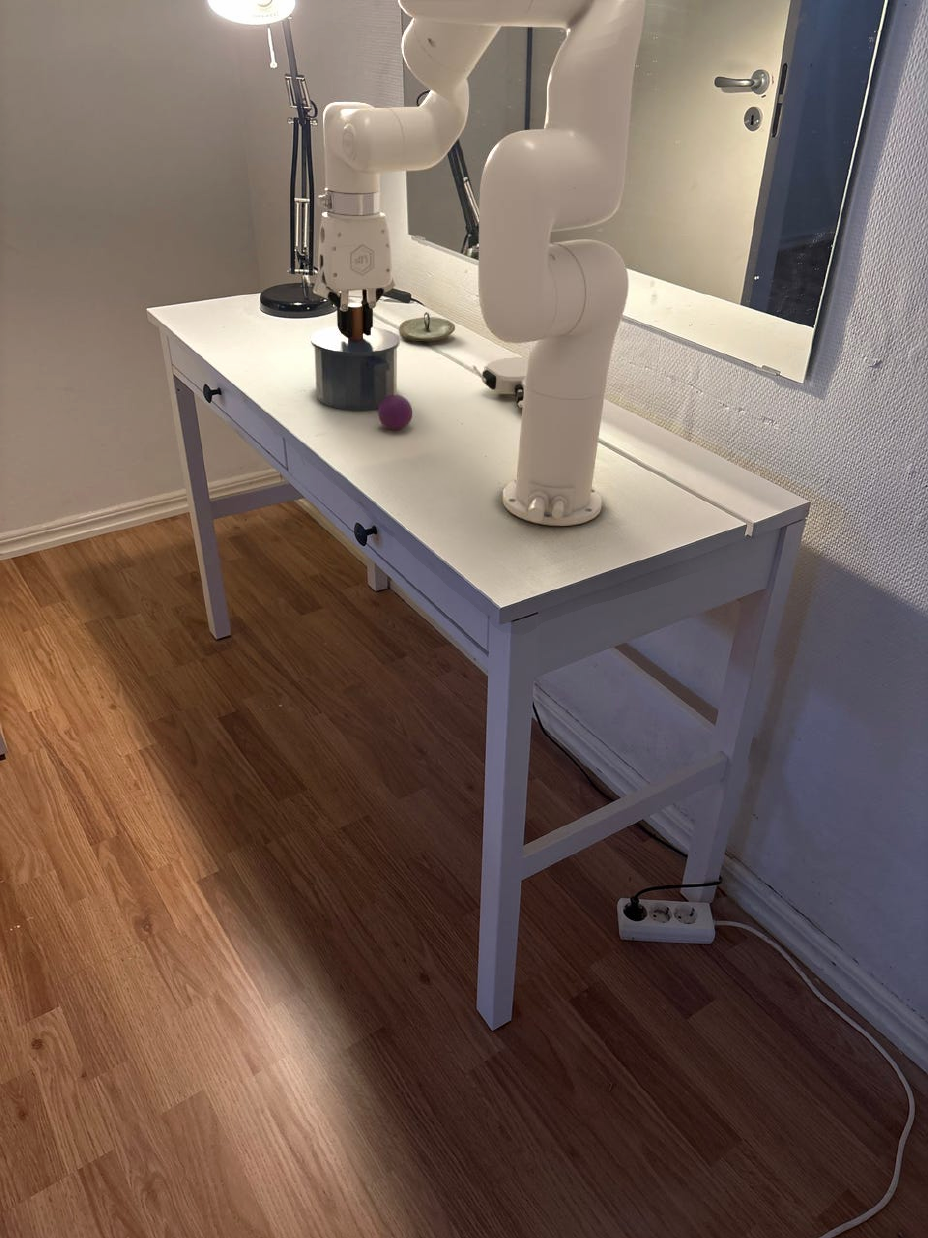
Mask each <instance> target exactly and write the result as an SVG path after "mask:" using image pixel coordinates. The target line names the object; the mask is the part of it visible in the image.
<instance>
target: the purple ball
mask: <svg viewBox="0 0 928 1238" xmlns="http://www.w3.org/2000/svg"><path fill="white" fill-rule="evenodd" d="M377 416H378V419H379V421H380V423H381V425H383V426H384V427H385V428H386V429H389V430H391V431H399V430H402V429H404V428H405V427H407V426H408V425H409V424H410V422H411V420H412V418H413V408H412V405H411V403H410V401H409V400H408V399H407V398H405V397H404V396H402V395H400V394H396V395H390V396H387V397H386V398H384V399H383V400H382V401H381V403H380V405H379V407H378V409H377Z"/></svg>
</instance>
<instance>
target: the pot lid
mask: <svg viewBox="0 0 928 1238" xmlns="http://www.w3.org/2000/svg"><path fill="white" fill-rule="evenodd" d="M348 306H349V310H350V311H351V312H352V337H351V338H346V337H345V336H344V335H342V334H341V333H340V331H339V330H338V326H337V325H335V326H330V327H326V328H325V327H324V328H322V329H319V330H317V331H315V332H314V333H313V334H311V337H310V343H311V345H312V347H315V348H316V349H318V350H320V351H323V352H326V353H330V354H334V355H341V356H356V357H360V356H374V355H380V354H385V353H388V352H391V351H393V350H395V349H396V348H397V349H398V348H399V346H400V337H399V335H397V334H396V333H395V332H393V331H390V330H389V329H386V328H382V327H378V326H373V327H372V328H371V335H370V336H367V335H365V334H364V333H363V305H362V304H361V302H348Z"/></svg>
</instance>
